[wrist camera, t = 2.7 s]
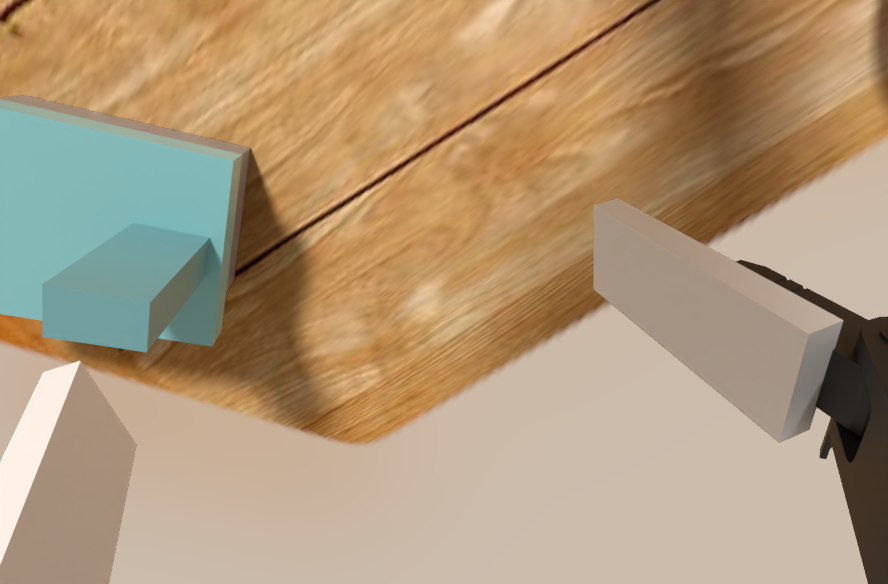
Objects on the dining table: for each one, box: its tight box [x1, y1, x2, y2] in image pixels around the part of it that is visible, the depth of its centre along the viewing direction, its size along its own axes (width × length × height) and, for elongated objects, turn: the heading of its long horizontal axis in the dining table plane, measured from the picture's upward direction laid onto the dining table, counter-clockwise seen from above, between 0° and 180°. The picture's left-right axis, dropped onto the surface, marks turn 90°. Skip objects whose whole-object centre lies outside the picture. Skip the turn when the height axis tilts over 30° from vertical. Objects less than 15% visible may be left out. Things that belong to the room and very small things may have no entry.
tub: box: [0, 95, 250, 291], centre depth 34 cm, size 14×10×8 cm
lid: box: [0, 99, 242, 352], centre depth 26 cm, size 16×12×11 cm
